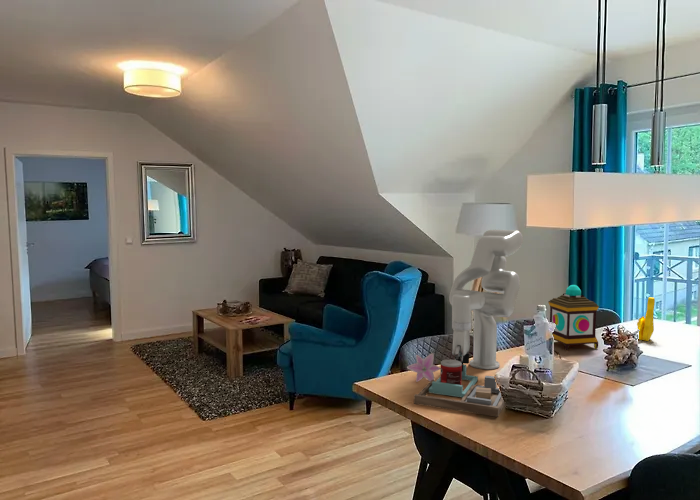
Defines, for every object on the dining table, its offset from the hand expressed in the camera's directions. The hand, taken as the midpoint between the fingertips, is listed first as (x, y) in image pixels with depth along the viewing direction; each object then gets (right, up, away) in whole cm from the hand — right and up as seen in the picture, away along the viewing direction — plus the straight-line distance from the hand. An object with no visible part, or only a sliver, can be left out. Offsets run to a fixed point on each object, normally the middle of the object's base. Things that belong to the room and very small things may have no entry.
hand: (462, 367), depth 224 cm
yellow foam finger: (+105, +1, +61) cm, 121 cm away
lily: (-15, -5, -1) cm, 16 cm away
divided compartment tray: (-5, -7, -24) cm, 25 cm away
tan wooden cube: (+2, -7, -28) cm, 29 cm away
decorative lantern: (+63, 0, +51) cm, 81 cm away
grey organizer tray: (+3, -7, -25) cm, 26 cm away
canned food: (-7, -6, -15) cm, 18 cm away
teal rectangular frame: (-5, -5, -10) cm, 12 cm away
